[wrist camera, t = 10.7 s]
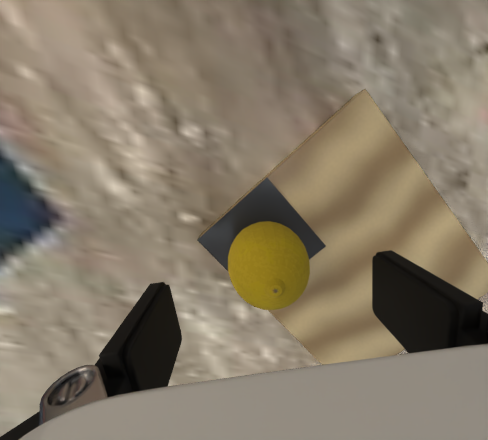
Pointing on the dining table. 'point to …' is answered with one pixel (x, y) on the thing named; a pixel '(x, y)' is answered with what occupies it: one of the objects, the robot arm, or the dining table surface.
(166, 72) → the dining table surface
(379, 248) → the board
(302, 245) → the lemon
